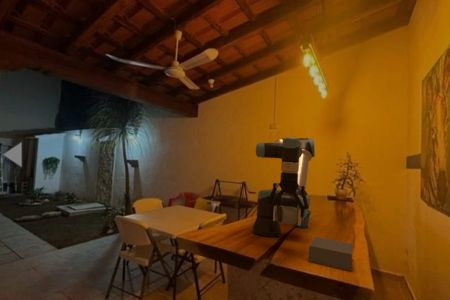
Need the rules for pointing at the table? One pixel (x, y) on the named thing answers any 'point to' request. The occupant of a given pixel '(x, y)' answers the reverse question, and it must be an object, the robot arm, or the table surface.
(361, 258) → the table surface
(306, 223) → the snack cup
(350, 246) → the slate block
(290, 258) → the table surface
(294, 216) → the ceramic mug
